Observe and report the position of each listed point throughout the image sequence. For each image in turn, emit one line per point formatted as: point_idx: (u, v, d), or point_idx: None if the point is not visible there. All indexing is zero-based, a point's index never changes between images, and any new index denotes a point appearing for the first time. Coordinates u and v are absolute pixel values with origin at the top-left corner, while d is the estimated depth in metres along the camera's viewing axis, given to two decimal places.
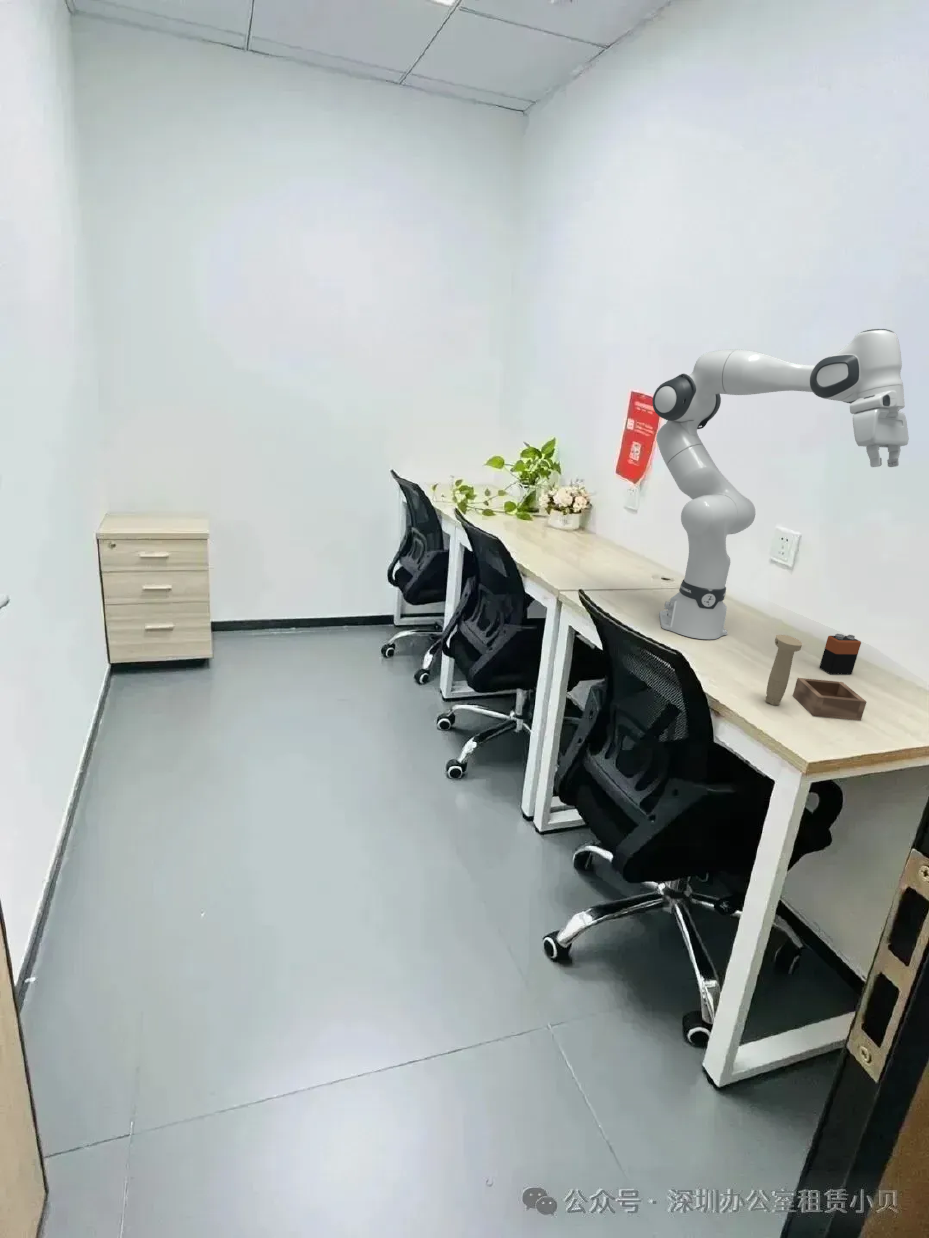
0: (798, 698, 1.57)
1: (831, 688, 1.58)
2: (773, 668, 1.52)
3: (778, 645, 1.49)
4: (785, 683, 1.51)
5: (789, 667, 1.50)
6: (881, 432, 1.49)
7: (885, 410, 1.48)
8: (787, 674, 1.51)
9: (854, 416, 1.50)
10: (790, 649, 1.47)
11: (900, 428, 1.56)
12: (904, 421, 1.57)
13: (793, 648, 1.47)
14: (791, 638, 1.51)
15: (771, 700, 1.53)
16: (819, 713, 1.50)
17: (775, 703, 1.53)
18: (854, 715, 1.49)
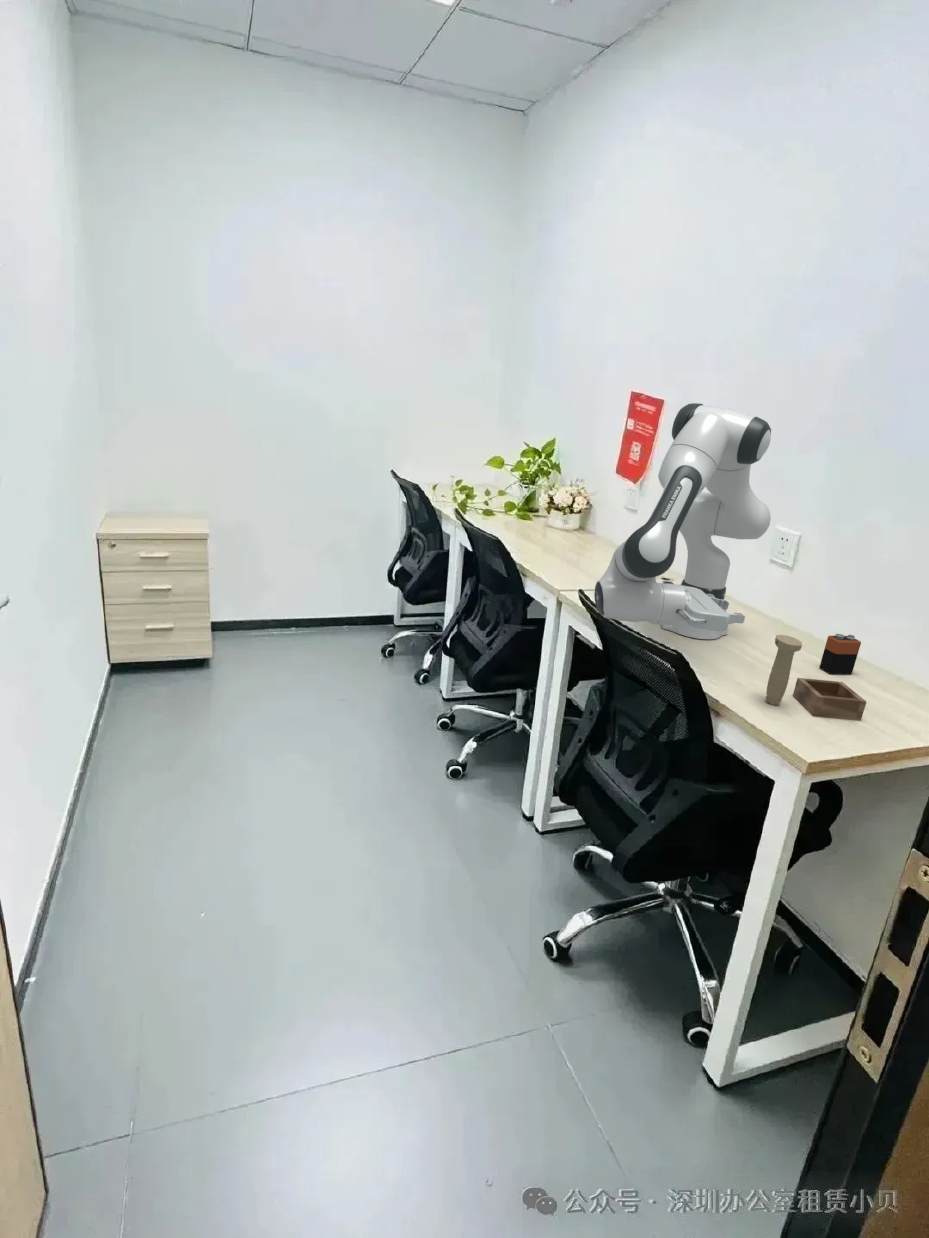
0: (798, 698, 1.57)
1: (831, 688, 1.58)
2: (773, 668, 1.52)
3: (778, 645, 1.49)
4: (785, 683, 1.51)
5: (789, 667, 1.50)
6: None
7: None
8: (787, 674, 1.51)
9: None
10: (790, 649, 1.47)
11: None
12: None
13: (793, 648, 1.47)
14: (791, 638, 1.51)
15: (771, 700, 1.53)
16: (819, 713, 1.50)
17: (775, 703, 1.53)
18: (854, 715, 1.49)
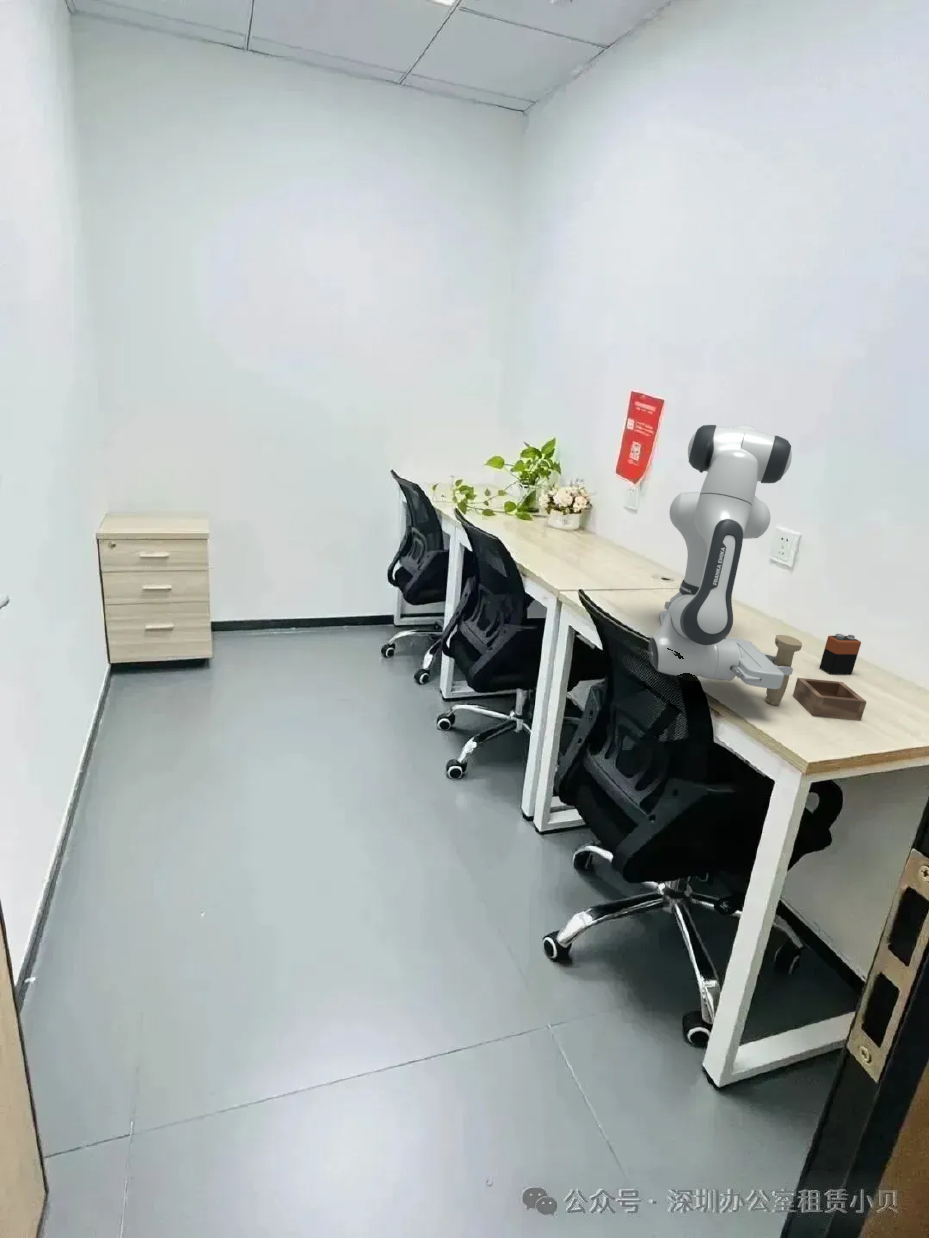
0: (798, 698, 1.57)
1: (831, 688, 1.58)
2: None
3: (778, 645, 1.49)
4: (785, 683, 1.51)
5: None
6: None
7: None
8: None
9: None
10: (790, 649, 1.47)
11: None
12: None
13: (793, 648, 1.47)
14: (791, 638, 1.51)
15: (771, 700, 1.53)
16: (819, 713, 1.50)
17: (775, 703, 1.53)
18: (854, 715, 1.49)
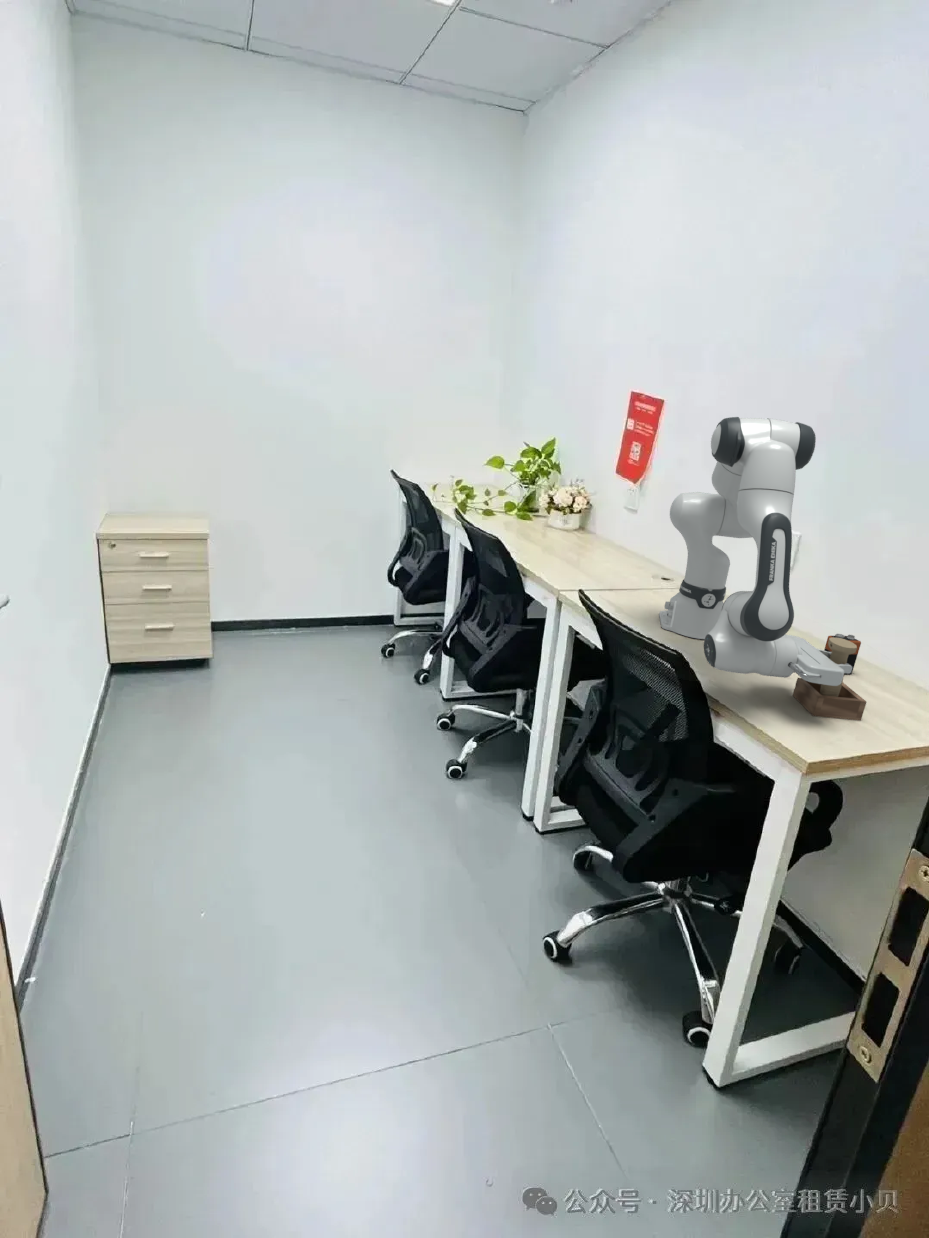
0: (798, 698, 1.57)
1: None
2: None
3: (832, 648, 1.49)
4: (839, 686, 1.51)
5: None
6: None
7: None
8: None
9: None
10: (845, 652, 1.47)
11: None
12: None
13: (848, 651, 1.47)
14: (845, 641, 1.51)
15: None
16: (819, 713, 1.50)
17: None
18: (854, 715, 1.49)
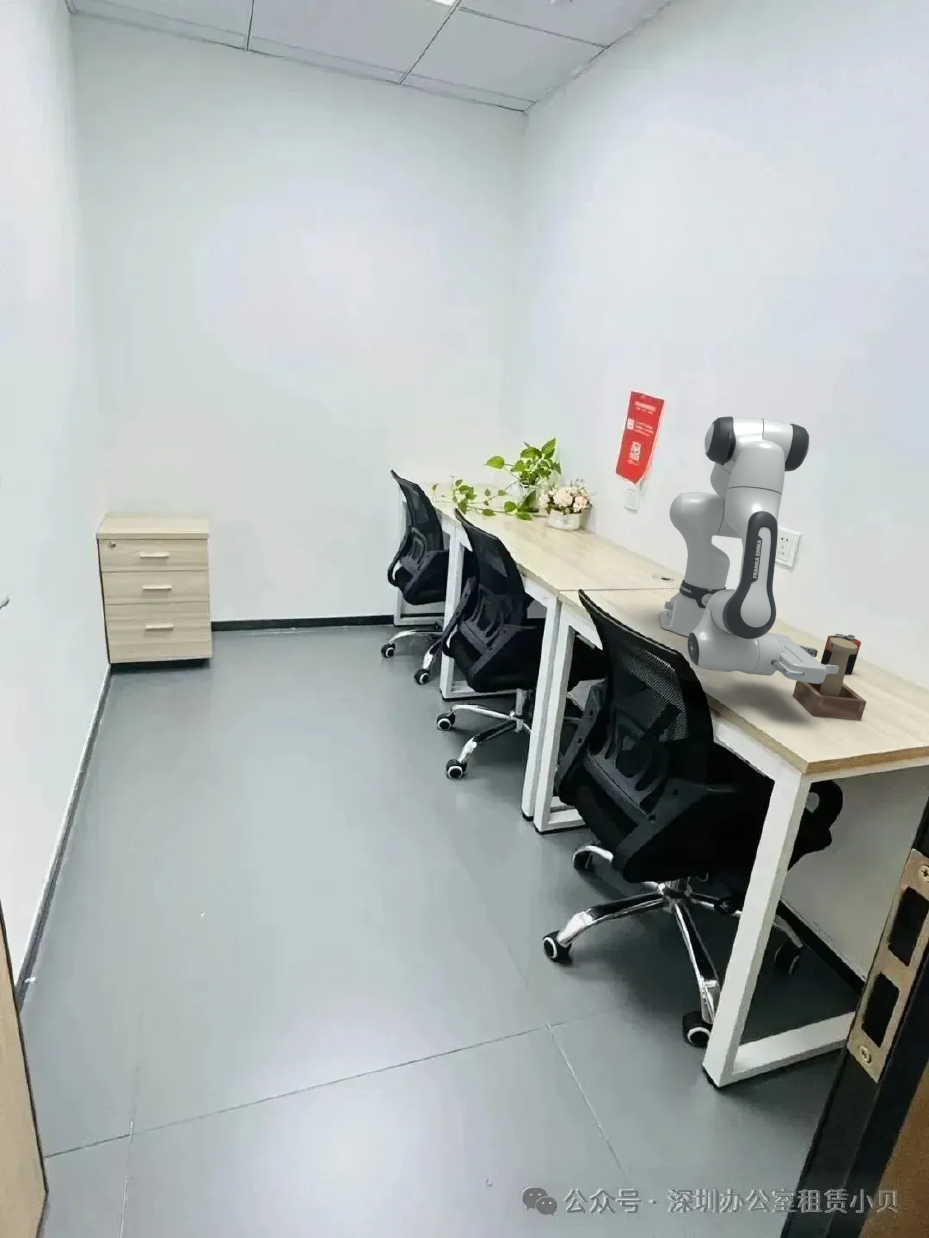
0: (798, 698, 1.57)
1: None
2: None
3: (833, 648, 1.49)
4: (839, 686, 1.51)
5: (844, 670, 1.50)
6: None
7: None
8: (842, 677, 1.51)
9: None
10: (846, 652, 1.47)
11: None
12: None
13: (849, 651, 1.47)
14: (845, 641, 1.51)
15: None
16: (819, 713, 1.50)
17: None
18: (854, 715, 1.49)
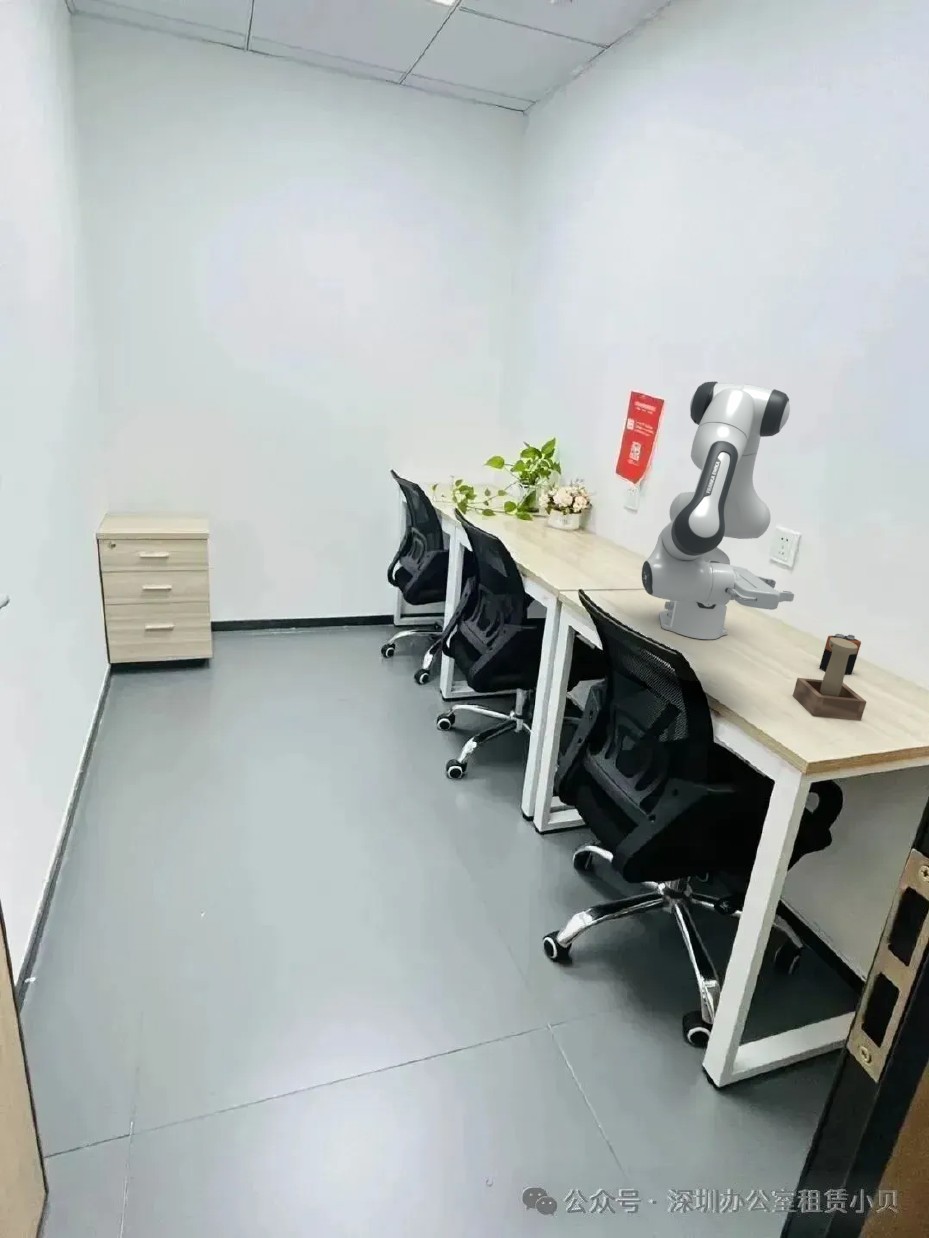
0: (798, 698, 1.57)
1: None
2: (827, 671, 1.52)
3: (833, 648, 1.49)
4: (839, 686, 1.51)
5: (844, 670, 1.50)
6: None
7: None
8: (842, 677, 1.51)
9: None
10: (846, 652, 1.47)
11: None
12: None
13: (849, 651, 1.47)
14: (845, 641, 1.51)
15: None
16: (819, 713, 1.50)
17: None
18: (854, 715, 1.49)
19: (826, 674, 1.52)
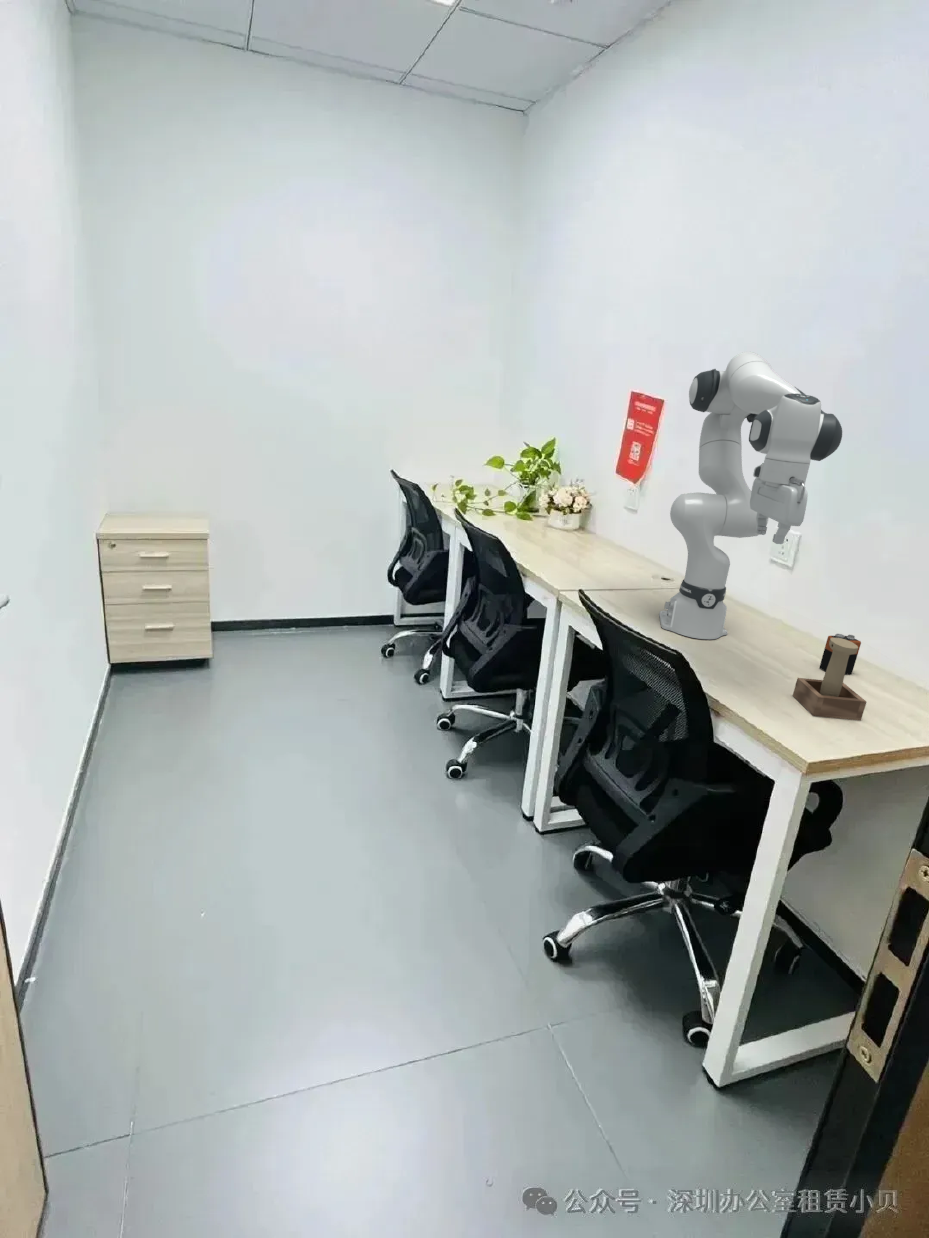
0: (798, 698, 1.57)
1: None
2: (827, 671, 1.52)
3: (833, 648, 1.49)
4: (839, 686, 1.51)
5: (844, 670, 1.50)
6: (758, 501, 1.53)
7: (758, 481, 1.52)
8: (842, 677, 1.51)
9: None
10: (846, 652, 1.47)
11: (779, 503, 1.43)
12: (786, 498, 1.40)
13: (849, 651, 1.47)
14: (846, 641, 1.51)
15: None
16: (819, 713, 1.50)
17: None
18: (854, 715, 1.49)
19: (826, 674, 1.52)
